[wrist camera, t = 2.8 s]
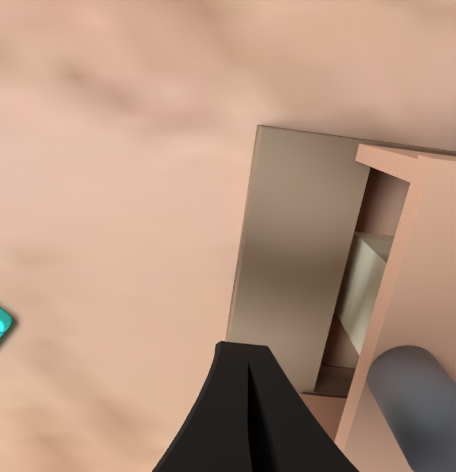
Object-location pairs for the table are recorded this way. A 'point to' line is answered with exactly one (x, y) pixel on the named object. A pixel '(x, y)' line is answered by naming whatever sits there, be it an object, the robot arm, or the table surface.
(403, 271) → the slide cover
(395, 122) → the table surface
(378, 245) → the birch block
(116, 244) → the table surface
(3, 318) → the handheld game console
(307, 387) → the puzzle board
